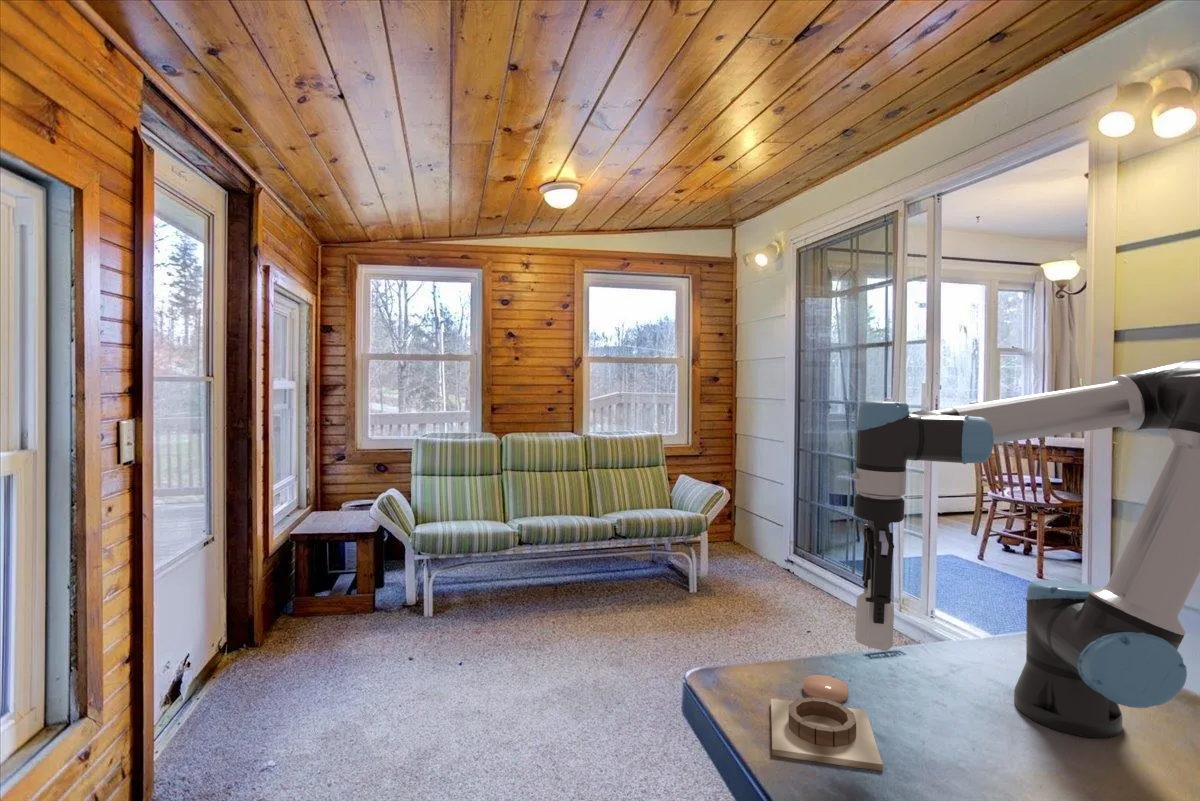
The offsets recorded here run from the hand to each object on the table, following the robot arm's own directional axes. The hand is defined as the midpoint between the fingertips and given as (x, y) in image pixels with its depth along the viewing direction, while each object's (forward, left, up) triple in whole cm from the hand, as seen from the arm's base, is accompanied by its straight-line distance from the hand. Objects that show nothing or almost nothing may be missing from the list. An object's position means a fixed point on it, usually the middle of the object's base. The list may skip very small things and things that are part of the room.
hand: (873, 634), depth 102 cm
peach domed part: (+6, -13, -17) cm, 22 cm away
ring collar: (+8, +2, -17) cm, 19 cm away
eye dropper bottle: (0, 0, -2) cm, 2 cm away
